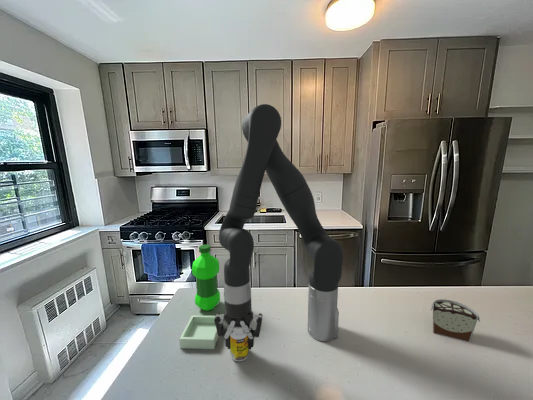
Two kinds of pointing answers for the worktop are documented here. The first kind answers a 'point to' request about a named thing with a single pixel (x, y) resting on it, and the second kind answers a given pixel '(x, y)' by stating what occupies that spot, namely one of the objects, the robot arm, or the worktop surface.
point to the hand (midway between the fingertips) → (239, 346)
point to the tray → (199, 333)
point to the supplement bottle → (239, 344)
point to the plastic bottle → (206, 279)
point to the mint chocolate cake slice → (453, 319)
